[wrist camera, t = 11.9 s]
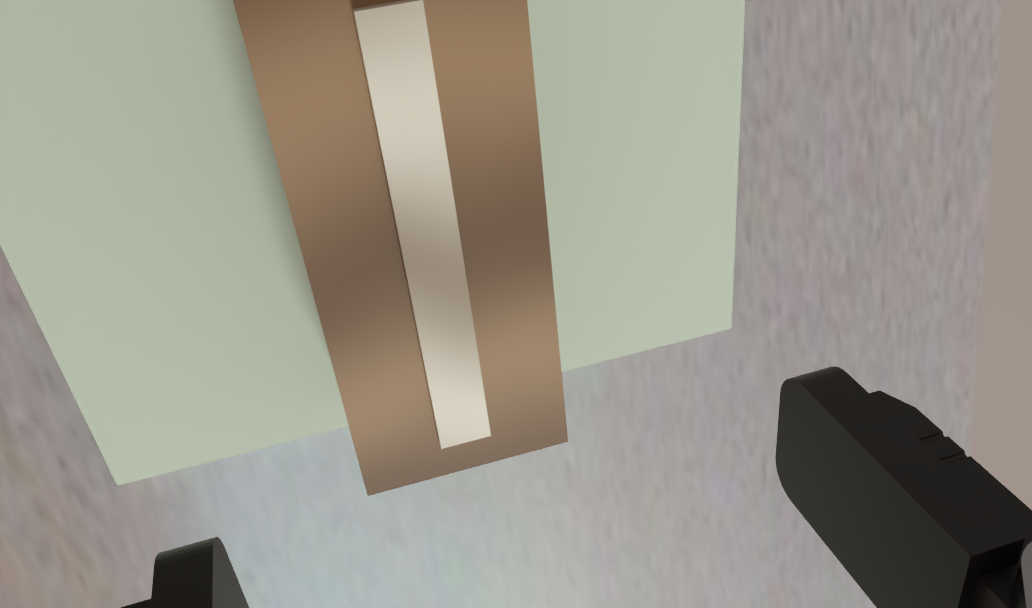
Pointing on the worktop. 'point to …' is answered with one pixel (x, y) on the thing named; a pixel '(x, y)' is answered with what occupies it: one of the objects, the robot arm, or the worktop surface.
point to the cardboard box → (418, 221)
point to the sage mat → (269, 225)
